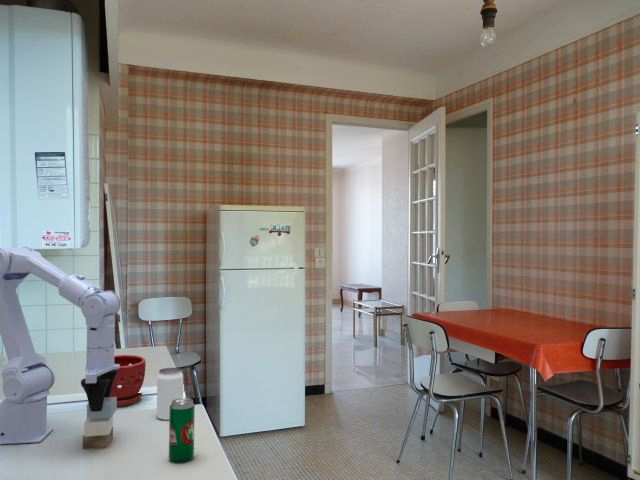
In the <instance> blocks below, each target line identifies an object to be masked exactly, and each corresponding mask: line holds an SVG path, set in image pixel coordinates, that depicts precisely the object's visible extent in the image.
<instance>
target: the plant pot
mask: <svg viewBox="0 0 640 480" xmlns="http://www.w3.org/2000/svg"><path fill="white" fill-rule="evenodd" d="M114 363H115V364H120V368H119V369H117V370H118V373H117V375H116V377H115V379H114V382H113V385H112V389H111V393H110V397H117V407H124V406H125V407H126V406H128V405H133V404H135V403H136V402H138V401H139V400H140V399H141V397H142V396H143V393H142V392H141V393H138V392H139V391H141V388H142V386H143V384H144V381H145V376H146V358H145V357H143V356H140V355H134V354H132V355H131V354H118V355H114ZM118 385H122V387H121V388H118V387H117V386H118Z"/></svg>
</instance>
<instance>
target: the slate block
mask: <svg viewBox="0 0 640 480" xmlns="http://www.w3.org/2000/svg"><path fill="white" fill-rule="evenodd" d="M117 408H118V406H117V397H104V402H103V407H102V410H101V411H97V412H91V410H90V407H89V402H88V403H87V404H86V420H87V419H91V418H111V417H112V416H113V417H114V414H115V413H116V411H117Z"/></svg>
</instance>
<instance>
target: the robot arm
mask: <svg viewBox="0 0 640 480" xmlns="http://www.w3.org/2000/svg"><path fill="white" fill-rule="evenodd" d="M29 275H34V276H36V277H37V278H39V279H41V280H43V281H45V282H46V283H48V284H50V285H52V286H53V287H56V288H58V289H57V290H58V295H59V296H61V297H62V298H63V299H64V300H66V301H68V302H70V304H71V303H72V304H73V305H74V306H76V307H78V308H79V309H81V313H82V315H83V317H84V318H85V325H86V359H85V360H86V362H85V363H86V366H84V367H85V368H84V371H85V378H82V379H80V385H81V387H82V388H83V390H84V392H85V394H86V397H87V401H88V403H89V407H90V410H91V412H97V411H101V410H102V407H103V402H104V397H110V393H111V389H112V385H113V382H114V379H115V377H116V375H117V373H118V370H117V369H119V368H120V364H115V363H114V356H115V349H116V347H115V344H116V343H115V339H116V329H115V328H116V314H118V312H119V311H120V309H121V299H120V297H119V296H118V295H117V293H115V292H114V291H113V290H105V291H103V289H102V286H99V285H94V284H93V283H92V282H89V281H87V280H86V276H85V275H83V274H70V275H68V274H67V273H65V272H64V271H62V270H61V269H60V268H59V267H57V266H56V265H54V264H53V263H51V261H49V260H47V259H45V258H44V257H43V256H42V254H41V253H40V252H39V251H36V250H35V249H33V248H31V247H29V246H23V247H0V338H1V341H2V344H3V347H4V349H5V354H6V356H7V361H8V362H7V363H6V365H5V366H4V368H3V370H2V371H1V373H0V374H1V377H2V393H3V395H4V397H5V399H3V400H2V401H1V402H0V445H7V444H8V445H9V444H11V445H12V444H13V445H14V444H31V443H40V442H41V443H42V441H43V440H44V439H45V438H46V437H47V436H48V435H49V434H50V433H51V432H52V431H53V430H54V427H47V424H48V423H47V421H48V419H47V415H48V395H49V394H50V389H51V388H52V387H53V386H54V385H55V381H56V377H55V376H56V375H55V372H54V370H53V368H52V367H50V365H49V364H48V361H47V358H46V357H44V356H42V355H41V354H39V353H37V352H36V349H35V346H34V343H33V340H32V337H31V334H30V331H29V327H28V324H27V321H26V318H25V316H24V315H25V314H24V312H23V309H22V306H21V303H20V300H19V295H18V294H17V289H18V287H19V285H20V284H21V283H23V282H24V281H25V279H26V278H27V277H29Z"/></svg>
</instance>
